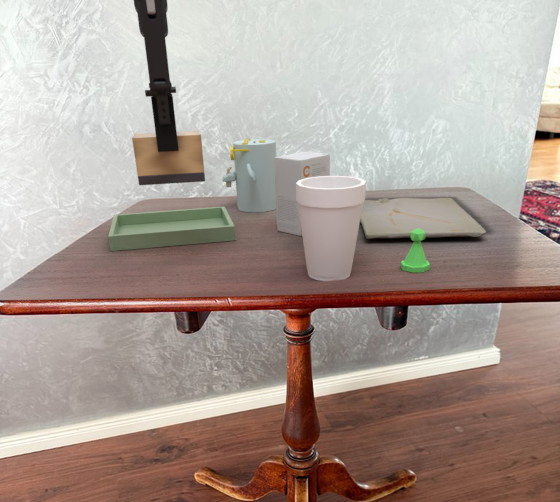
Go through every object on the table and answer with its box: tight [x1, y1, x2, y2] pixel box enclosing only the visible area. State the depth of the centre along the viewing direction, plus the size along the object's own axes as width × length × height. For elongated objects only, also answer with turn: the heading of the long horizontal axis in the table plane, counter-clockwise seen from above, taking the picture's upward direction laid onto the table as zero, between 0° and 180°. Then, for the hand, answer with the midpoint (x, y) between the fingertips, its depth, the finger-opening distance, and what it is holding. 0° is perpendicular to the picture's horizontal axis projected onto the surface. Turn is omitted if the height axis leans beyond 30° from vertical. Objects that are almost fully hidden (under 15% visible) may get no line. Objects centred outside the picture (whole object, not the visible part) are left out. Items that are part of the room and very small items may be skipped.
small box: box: [274, 151, 331, 237], centre depth 98 cm, size 8×6×13 cm
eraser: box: [131, 130, 206, 186], centre depth 75 cm, size 9×5×6 cm, turn 100°
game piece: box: [400, 228, 431, 274], centre depth 80 cm, size 4×4×6 cm
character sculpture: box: [221, 138, 277, 213], centre depth 114 cm, size 20×12×13 cm, turn 179°
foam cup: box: [296, 175, 367, 282], centre depth 77 cm, size 10×9×13 cm
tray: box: [107, 206, 237, 252], centre depth 101 cm, size 22×16×3 cm
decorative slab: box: [360, 197, 487, 240], centre depth 103 cm, size 27×21×2 cm
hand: (168, 147), depth 75 cm, fingers closed on eraser, 5 cm apart
